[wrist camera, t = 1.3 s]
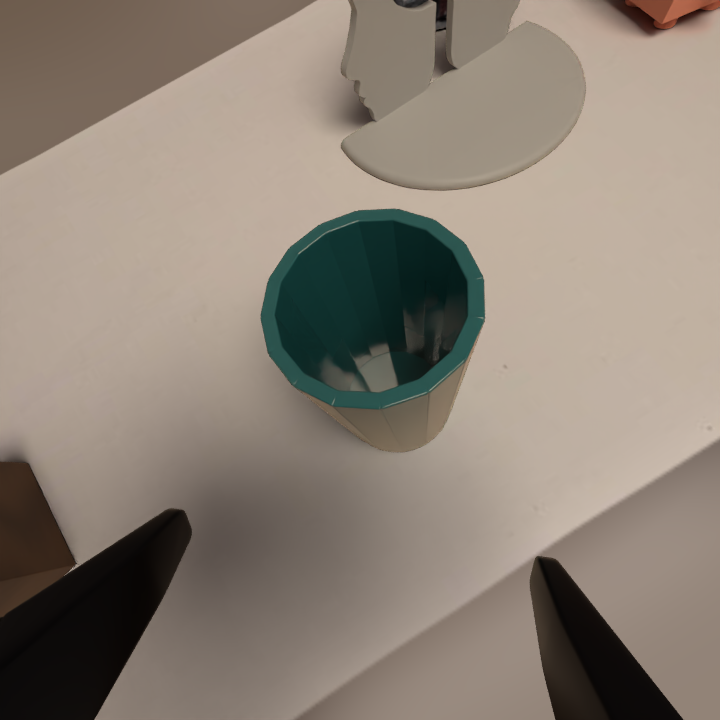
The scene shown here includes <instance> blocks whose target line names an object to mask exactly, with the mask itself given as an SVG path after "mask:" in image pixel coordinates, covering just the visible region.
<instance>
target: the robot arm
mask: <svg viewBox="0 0 720 720" xmlns="http://www.w3.org/2000/svg"><path fill="white" fill-rule="evenodd" d="M191 536H192V529H191V526H190V523H189V520H188V518H187V515H186V513H185V511H184V510H181V509H174V508H171V509H167V510H165V511H164V512H162V513H161V514H159V515H158V516H156V517H155V518H153V519H151V520H150V521H148V522H147V523H145V524H144V525H142V526H141V527H139V528H138V529H136V530H134V531H133V532H131V533H130V534H128V535H127V536H125V537H124V538H122V539H121V540H119V541H117V542H116V543H114V544H113V545H111V546H110V547H108V548H107V549H105V550H104V551H102V552H100V553H99V554H97V555H96V556H94V557H93V558H91V559H90V560H88V561H86V562H85V563H83V564H82V565H80V566H79V567H77V568H76V569H74V570H73V571H71V572H69V573H68V574H66V575H65V576H63V577H62V578H60V579H59V580H57V581H56V582H54V583H52V584H51V585H49V586H48V587H46V588H45V589H43V590H42V591H40V592H39V593H37V594H35V595H34V596H32V597H31V598H29V599H28V600H26V601H25V602H23V603H22V604H20V605H18V606H17V607H15V608H14V609H12V610H11V611H9V612H8V613H6V614H5V615H4V617H0V720H94V719H95V717H96V716H97V714H98V712H99V710H100V709H101V707H102V705H103V703H104V702H105V700H106V698H107V696H108V695H109V693H110V691H111V689H112V687H113V686H114V684H115V682H116V680H117V679H118V677H119V675H120V673H121V672H122V670H123V668H124V666H125V665H126V663H127V661H128V659H129V658H130V656H131V654H132V652H133V650H134V649H135V647H136V645H137V643H138V642H139V640H140V638H141V636H142V635H143V633H144V631H145V629H146V628H147V626H148V624H149V622H150V621H151V619H152V617H153V615H154V614H155V612H156V610H157V608H158V606H159V605H160V603H161V601H162V599H163V597H164V595H165V593H166V591H167V589H168V587H169V585H170V583H171V580H172V578H173V576H174V574H175V572H176V570H177V567H178V565H179V563H180V561H181V559H182V557H183V554H184V552H185V550H186V548H187V546H188V544H189V542H190V539H191ZM530 591H531V598H532V604H533V611H534V617H535V624H536V630H537V636H538V642H539V649H540V655H541V661H542V667H543V672H544V676H545V680H546V684H547V689H548V692H549V696H550V700H551V704H552V708H553V712H554V716H555V719H556V720H683V719H682V717H681V716H680V715H679V714H678V712H677V711H676V710H675V708H674V707H673V706H672V705H671V704H670V702H669V701H668V700H667V698H666V697H665V696H664V695H663V693H662V692H661V691H660V690H659V688H658V687H657V686H656V684H655V683H654V682H653V681H652V679H651V678H650V677H649V676H648V674H647V673H646V672H645V670H644V669H643V668H642V667H641V665H640V664H639V663H638V662H637V660H636V659H635V658H634V657H633V655H632V654H631V653H630V652H629V650H628V649H627V648H626V646H625V645H624V644H623V643H622V641H621V640H620V639H619V638H618V636H617V635H616V634H615V633H614V632H613V630H612V629H611V627H610V626H609V625H608V624H607V622H606V621H605V620H604V619H603V617H602V616H601V615H600V613H599V612H598V611H597V610H596V608H595V607H594V606H593V605H592V603H591V602H590V601H589V600H588V598H587V597H586V596H585V594H584V593H583V592H582V591H581V589H580V588H579V587H578V586H577V584H576V583H575V582H574V581H573V579H572V578H571V577H570V576H569V574H568V573H567V572H566V570H565V569H564V568H563V567H562V565H561V564H560V563H559V562H558V561H557V560H556V559H554V558H549V557H542V556H537V557H536V558H535V560H534V564H533V568H532V572H531V576H530Z"/></svg>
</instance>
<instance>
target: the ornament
mask: <svg viewBox="0 0 720 720" xmlns="http://www.w3.org/2000/svg"><path fill="white" fill-rule="evenodd" d="M348 1H349V3H350V5H351V19H350V27H349V33H348V38H347V44H346V48H345V52H344V55H343V59H342V64H341V73H342V75H343V76H344V77H345V78H347V79H348V80H352V81H354V80H355V84H354V91H355V92H356V93H357V94H359V95H360V96H359V100H360V102H361V103H363V104H364V105H365V106H366V107H368V109H369V113H370V116H371V117H372V118H373V119H374V120H372V121H371V122H369V123H368V124H366V125H365V126H363V127H361V128H360V129H358V130H357V131H355V132H354V133H352V134H351V135H349V136H348V137H346V138H345V139H343V141H342V143H341V148H342V149H343V151H344V152H345V153H346V155H347V156H348V157H349V158H350V159H351V160H352V161H353V162H354V163H355V164H356V165H357V166H359V167H360V168H361V169H363V170H364V171H366V172H368V173H369V174H371V175H373V176H375V177H377V178H379V179H382V180H384V181H387V182H390V183H393V184H396V185H400V186H404V187H409V188H416V189H425V190H452V189H462V188H469V187H475V186H480V185H484V184H488V183H492V182H495V181H498V180H501V179H504V178H507V177H509V176H512V175H514V174H516V173H518V172H520V171H523V170H524V169H526V168H528V167H530V166H532V165H533V164H535V163H537V162H538V161H540V160H541V159H543V158H544V157H545V156H547V155H548V154H549V153H551V152H552V151H553V150H554V149H555V148H556V147H557V146H558V145H559V144H560V143H561V142H562V141H563V140H564V139H565V138H566V137H567V135H568V134H569V133H570V132H571V130H572V129H573V127H574V125H575V124H576V122H577V120H578V118H579V116H580V113H581V111H582V108H583V104H584V100H585V93H586V82H585V75H584V71H583V68H582V65H581V63H580V61H579V59H578V57H577V56H576V54H575V53H574V51H573V50H572V49H571V48H570V46H569V45H568V44H567V43H566V42H565V41H563V40H562V39H561V38H560V37H558V36H557V35H556V34H554V33H553V32H551V31H549V30H547V29H546V28H544V27H542V26H539V25H537V24H535V23H532V22H529V21H526V22H524V23H523V24H521V25H519V26H518V27H516V28H515V29H513V30H512V31H510V32H509V33H507V32H508V29H509V24H510V21H511V18H512V16H513V14H514V12H515V10H516V9H517V7H518V5H519V2H520V0H447V22H446V56H447V59H448V61H449V63H450V64H451V65H453V66H454V68H453V69H451V70H450V71H448V72H447V73H445V74H444V75H442V76H440V77H439V78H437V79H436V80H434V81H433V82H431V83H430V80H431V77H432V74H433V70H434V61H435V20H436V2H434V1H432V0H428V1H426V2H425V3H423V4H421V5H420V6H417V7H413V8H406V7H402V6H399V5H397V4H396V3H395V2H394V1H393V0H348ZM429 83H430V84H429Z"/></svg>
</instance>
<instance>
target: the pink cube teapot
mask: <svg viewBox="0 0 720 720" xmlns="http://www.w3.org/2000/svg"><path fill="white" fill-rule="evenodd" d="M625 3H626V4H627V5H628V6H632V7H637V6H638V7H639V8H641V9H642V10H643V11H645V12H646V13H647V14H649V15H650V16H651V17H653V18H654V19H655V21H654V25H655V26H656V27H657V28H660V29H668V28H671V27H673V26H674V25H675V24H676V21H677V18H678V17H680V16H683V15H685V14H687V13H690V12H692V11H695V10H697V9H699V8H701V9H703V10H714V9H716V8H718V7H719V6H720V0H625Z"/></svg>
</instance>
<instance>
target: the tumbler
mask: <svg viewBox="0 0 720 720" xmlns="http://www.w3.org/2000/svg"><path fill="white" fill-rule="evenodd" d="M484 322H485V293H484V279H483V275H482V274H481V272H480V270H479V268H478V266H477V264H476V262H475V260H474V259H473V257H472V255H471V253H470V251H469V249H468V247H467V245H466V244H465V243H464V242H463V241H462V240H461V239H459V238H458V237H457V236H455V235H454V234H453V233H451V232H450V231H449V230H448V229H446V228H445V227H444V226H442V225H441V224H440V223H438V222H437V221H436V220H433V219H431V218H428V217H424V216H421V215H417V214H414V213H410V212H407V211H403V210H400V209H397V210H396V209H377V210H358V211H354V212H351V213H349V214H346V215H343V216H341V217H338V218H335V219H332V220H330V221H327V222H324V223H322V224H321V225H318V226H317V227H315V228H314V229H313V230H312V231H310V232H309V233H308V234H306V235H305V236H304V237H303V238H301V239H300V240H299V241H297V242H296V243H295V244H294V245H292V246H291V247H290V249H288V250H287V252H286V253H285V255H284V256H283V258H282V259H281V261H280V262H279V264H278V265H277V267H276V268H275V270H274V272H273V273H272V275H271V276H270V278H269V281H268V283H267V288H266V292H265V297H264V302H263V306H262V311H261V323H262V328H263V332H264V337H265V342H266V346H267V351H268V354H269V356H270V358H271V359H272V360H273V361H274V363H275V364H276V365H277V367H278V368H279V369H280V370H281V372H282V373H283V374H284V376H285V377H286V378H287V379H288V381H289V382H290V383H291V385H292V386H294V387H295V388H296V389H297V390H298V391H300V392H301V393H302V394H304V395H305V396H306V397H307V398H309V399H310V400H311V401H312V402H314V403H315V404H316V405H317V406H319V407H320V408H321V409H323V410H324V411H325V412H326V413H328V414H329V415H330V416H331V417H333V418H334V419H335V420H336V421H338V422H339V423H340V424H342V425H343V426H344V427H345V428H347V429H348V430H349V431H350V432H352V433H353V434H354V435H355V436H357V437H358V438H359V439H361V440H362V441H364V442H366V443H368V444H369V445H371V446H373V447H375V448H377V449H379V450H382V451H388V452H408V451H411V450H415V449H417V448H420V447H422V446H424V445H426V444H427V443H429V442H430V441H431V440H433V439H434V438H435V437H436V436H437V435H438V434H439V432H441V431H442V429H443V427H444V425H445V423H446V421H447V419H448V416H449V414H450V412H451V410H452V407H453V404H454V402H455V399H456V396H457V394H458V391H459V388H460V386H461V383H462V380H463V378H464V375H465V372H466V370H467V367H468V364H469V362H470V359H471V356H472V354H473V351H474V348H475V346H476V343H477V340H478V338H479V335H480V332H481V330H482V327H483V324H484Z"/></svg>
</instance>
